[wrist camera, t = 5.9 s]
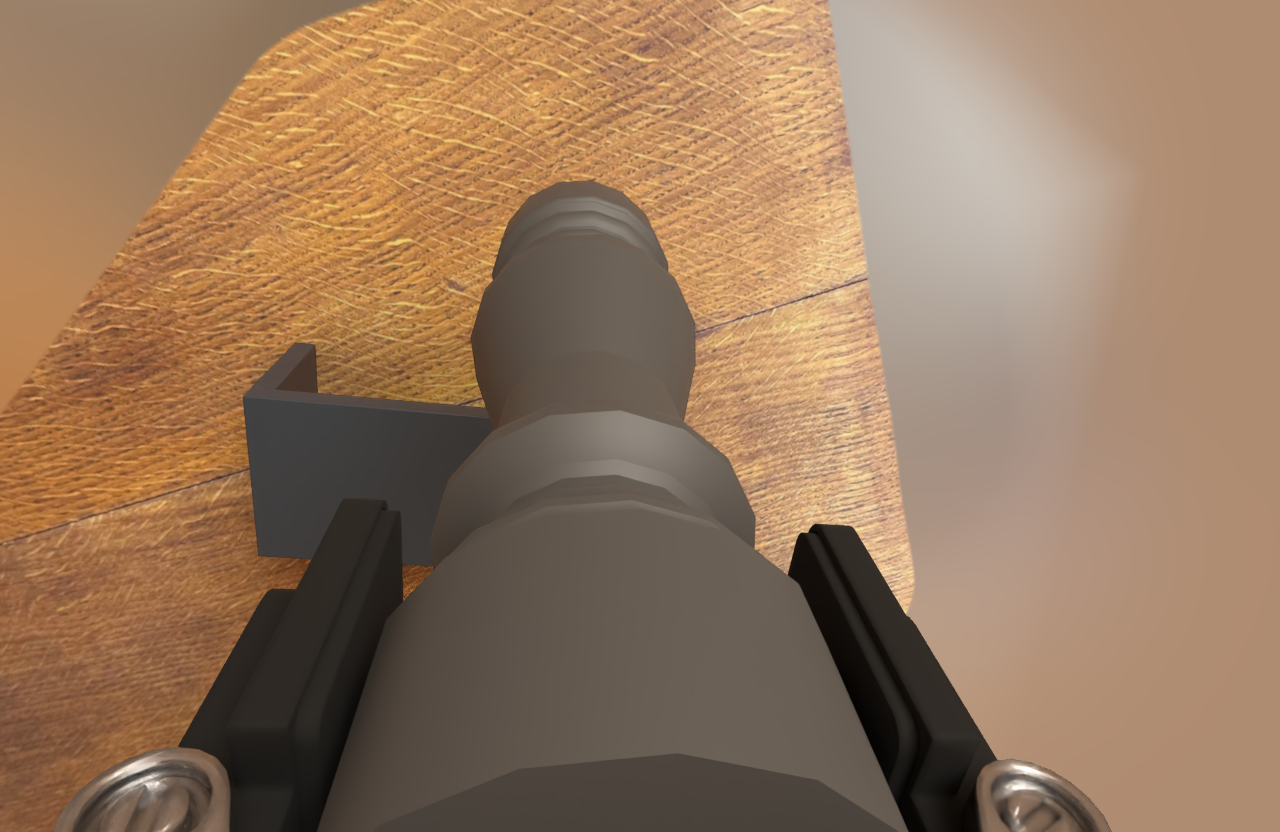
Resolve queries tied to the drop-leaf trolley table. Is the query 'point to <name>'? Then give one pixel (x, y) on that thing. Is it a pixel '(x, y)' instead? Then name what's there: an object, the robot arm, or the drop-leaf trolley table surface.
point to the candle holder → (599, 588)
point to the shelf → (347, 457)
